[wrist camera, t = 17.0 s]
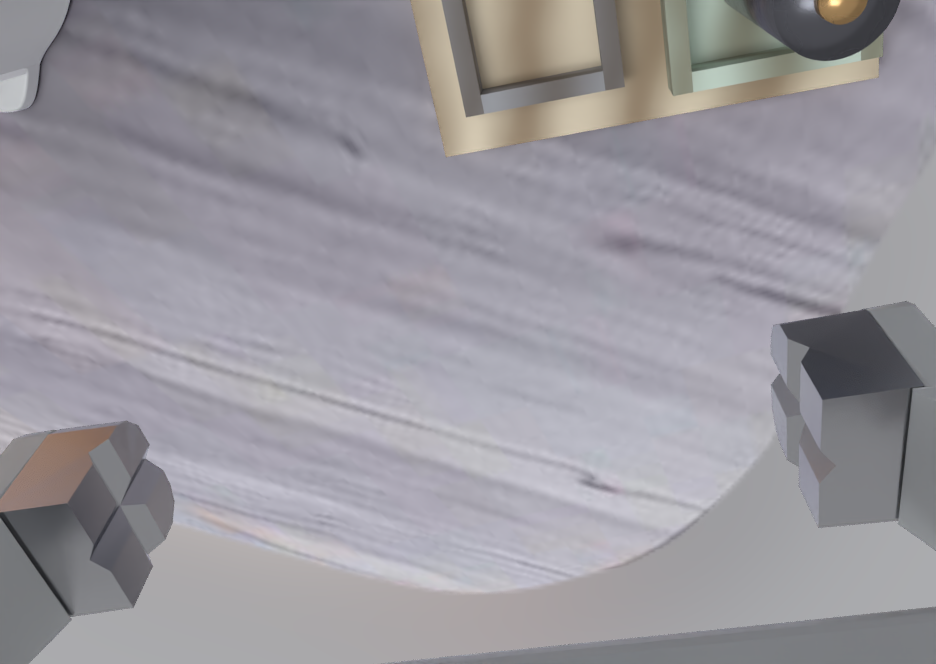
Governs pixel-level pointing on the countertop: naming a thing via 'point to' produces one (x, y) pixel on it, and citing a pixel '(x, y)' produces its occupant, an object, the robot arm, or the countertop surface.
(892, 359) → the robot arm
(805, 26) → the cell
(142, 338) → the countertop surface
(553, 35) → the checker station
